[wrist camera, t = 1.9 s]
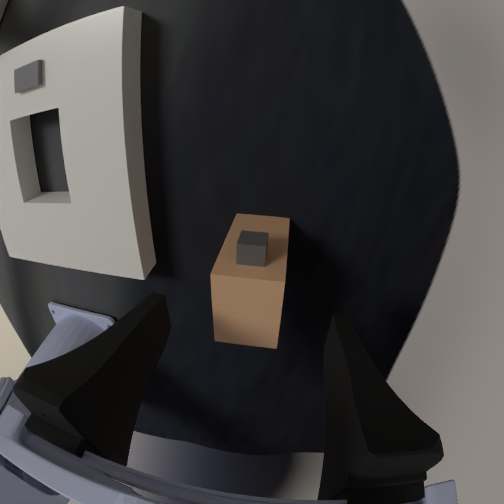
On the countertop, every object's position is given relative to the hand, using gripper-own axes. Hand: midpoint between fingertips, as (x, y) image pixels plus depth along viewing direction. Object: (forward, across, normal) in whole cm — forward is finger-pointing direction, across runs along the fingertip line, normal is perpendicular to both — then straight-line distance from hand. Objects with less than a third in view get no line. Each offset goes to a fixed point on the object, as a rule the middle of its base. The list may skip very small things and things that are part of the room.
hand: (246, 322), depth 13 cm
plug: (+6, 0, 0) cm, 7 cm away
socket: (+6, +14, -6) cm, 17 cm away
